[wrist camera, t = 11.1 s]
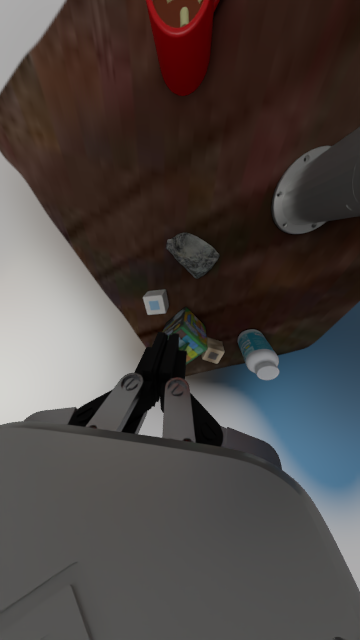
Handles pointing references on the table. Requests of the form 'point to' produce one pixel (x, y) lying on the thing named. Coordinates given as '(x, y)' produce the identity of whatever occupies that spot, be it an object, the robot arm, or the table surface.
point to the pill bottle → (258, 354)
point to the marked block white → (156, 302)
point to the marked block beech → (213, 351)
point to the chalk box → (188, 333)
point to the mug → (182, 40)
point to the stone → (192, 253)
